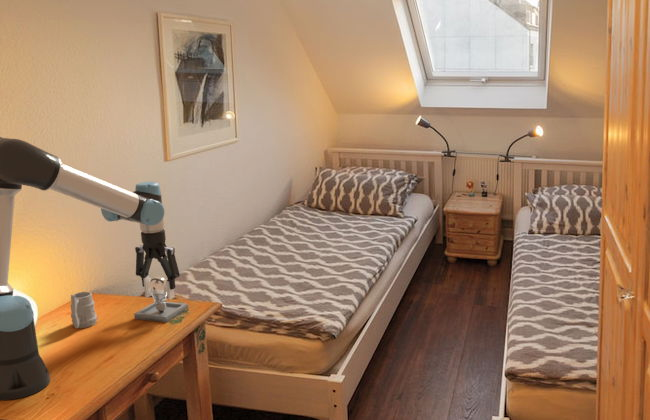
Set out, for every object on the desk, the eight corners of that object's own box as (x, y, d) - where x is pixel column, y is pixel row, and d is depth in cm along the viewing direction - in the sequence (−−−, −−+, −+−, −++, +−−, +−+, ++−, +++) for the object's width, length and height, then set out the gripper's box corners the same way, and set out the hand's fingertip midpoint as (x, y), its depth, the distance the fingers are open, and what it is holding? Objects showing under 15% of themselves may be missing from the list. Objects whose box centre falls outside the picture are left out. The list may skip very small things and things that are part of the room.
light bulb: (165, 306, 234) (161, 272, 232) (176, 310, 229) (172, 275, 227) (146, 312, 230) (142, 277, 227) (157, 316, 225) (153, 281, 222)
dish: (166, 322, 222) (166, 317, 221) (134, 318, 226) (134, 313, 226) (188, 308, 233) (187, 303, 232) (157, 305, 237) (156, 300, 237)
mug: (101, 319, 228) (96, 284, 225) (87, 333, 216) (82, 296, 214) (78, 319, 228) (73, 284, 226) (63, 334, 217) (58, 297, 214)
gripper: (186, 228, 223) (193, 296, 228) (133, 225, 231) (140, 291, 236) (173, 234, 216) (180, 303, 221) (118, 231, 224) (126, 298, 229)
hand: (160, 297), depth 228 cm, fingers open, 8 cm apart
